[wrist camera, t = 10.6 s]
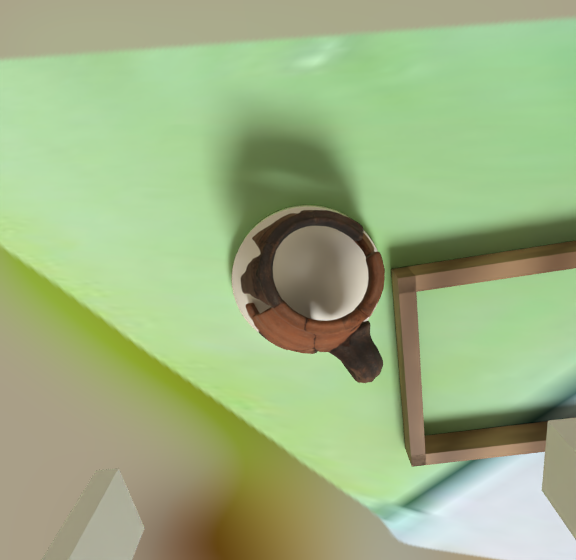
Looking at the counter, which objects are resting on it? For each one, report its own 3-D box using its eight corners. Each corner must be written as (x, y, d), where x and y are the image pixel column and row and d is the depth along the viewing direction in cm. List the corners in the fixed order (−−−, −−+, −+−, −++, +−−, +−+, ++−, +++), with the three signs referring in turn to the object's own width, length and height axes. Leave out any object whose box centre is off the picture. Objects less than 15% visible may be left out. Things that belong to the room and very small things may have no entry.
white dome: (373, 192, 26) (375, 194, 25) (385, 331, 30) (388, 338, 29) (218, 218, 27) (215, 221, 26) (250, 350, 31) (248, 357, 30)
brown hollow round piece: (212, 284, 28) (206, 264, 20) (304, 208, 30) (332, 162, 22) (319, 405, 28) (356, 434, 20) (403, 320, 30) (468, 315, 22)
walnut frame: (714, 219, 26) (746, 225, 24) (668, 417, 32) (691, 435, 30) (390, 269, 28) (397, 278, 26) (405, 448, 34) (411, 466, 32)
